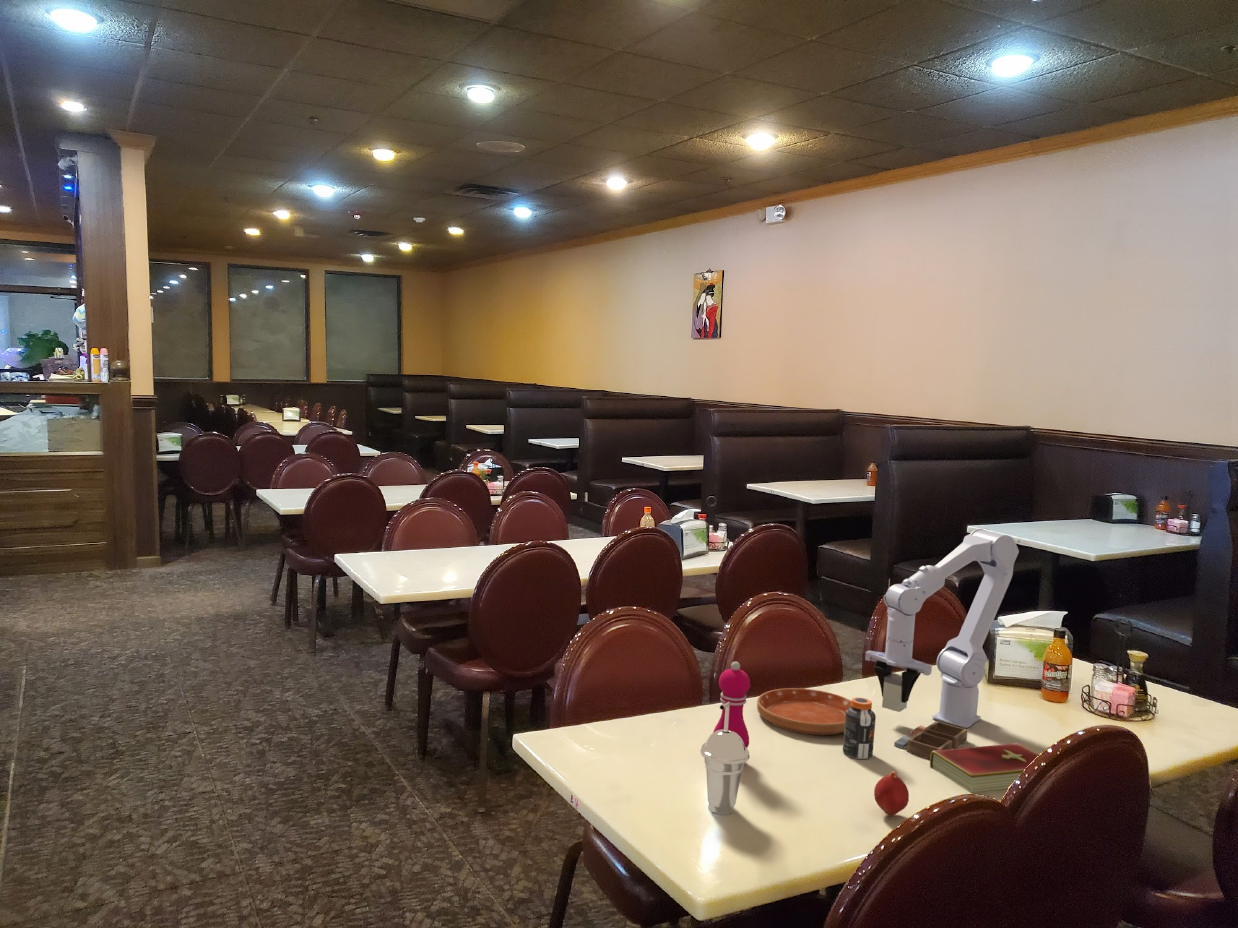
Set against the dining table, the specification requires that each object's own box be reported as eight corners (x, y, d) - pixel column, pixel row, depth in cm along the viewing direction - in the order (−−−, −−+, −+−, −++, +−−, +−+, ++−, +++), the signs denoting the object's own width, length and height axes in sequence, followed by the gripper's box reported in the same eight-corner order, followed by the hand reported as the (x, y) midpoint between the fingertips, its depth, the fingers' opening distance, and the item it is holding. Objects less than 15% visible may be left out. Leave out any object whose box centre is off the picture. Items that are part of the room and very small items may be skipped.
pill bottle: (873, 761, 179) (878, 706, 178) (843, 757, 181) (847, 703, 180) (871, 750, 185) (875, 696, 184) (841, 746, 186) (846, 693, 185)
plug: (889, 702, 203) (891, 672, 203) (906, 707, 201) (909, 677, 200) (882, 707, 200) (884, 676, 200) (899, 711, 198) (901, 681, 197)
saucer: (758, 734, 191) (759, 717, 191) (754, 698, 214) (755, 683, 213) (868, 745, 188) (869, 728, 188) (852, 707, 211) (854, 692, 211)
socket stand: (921, 727, 200) (922, 716, 199) (966, 740, 193) (967, 729, 193) (892, 746, 188) (893, 735, 187) (939, 761, 181) (940, 749, 181)
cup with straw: (755, 810, 156) (763, 697, 154) (723, 825, 149) (730, 709, 148) (717, 792, 162) (724, 684, 160) (684, 807, 155) (691, 694, 154)
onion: (867, 806, 159) (871, 763, 159) (899, 807, 160) (902, 763, 159) (879, 822, 153) (883, 777, 153) (912, 823, 154) (916, 778, 153)
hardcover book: (929, 768, 179) (930, 748, 178) (1014, 760, 185) (1016, 740, 185) (970, 795, 167) (972, 773, 167) (1059, 786, 174) (1061, 765, 173)
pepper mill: (750, 757, 178) (757, 659, 176) (743, 772, 171) (750, 669, 169) (715, 751, 180) (721, 653, 178) (706, 764, 173) (713, 663, 172)
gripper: (861, 635, 201) (856, 694, 202) (924, 649, 192) (919, 711, 193) (874, 629, 206) (870, 687, 207) (937, 643, 197) (932, 703, 198)
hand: (895, 698), depth 200 cm, fingers closed on plug, 4 cm apart
